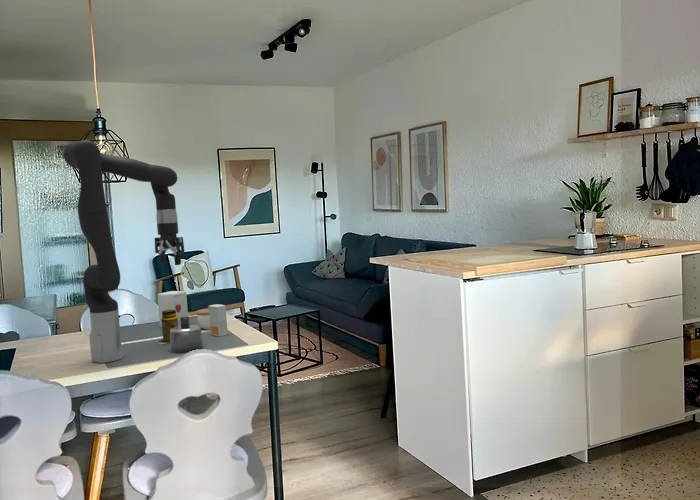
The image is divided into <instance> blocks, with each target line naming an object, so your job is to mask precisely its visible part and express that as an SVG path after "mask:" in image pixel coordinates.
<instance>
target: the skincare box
mask: <svg viewBox="0 0 700 500" xmlns="http://www.w3.org/2000/svg"><path fill="white" fill-rule="evenodd" d="M208 306H209V315H210V329H211V330H210V335H211V336H216V337H220V338H221V337H223V336H227V335H228V319H227V318H228V317H227V307H226V304H219V303H216V304H215V303H214V304H210V305H208Z"/></svg>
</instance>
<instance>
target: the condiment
mask: <svg viewBox="0 0 700 500" xmlns="http://www.w3.org/2000/svg"><path fill="white" fill-rule="evenodd" d="M161 321H162V328H161V331H162V339H159V340H155V342H156V343H157V344H158V345H164V344H171V341H170V329H171V328H174V327H177V326H178V319H177V316H176V310H165V311H162V319H161Z"/></svg>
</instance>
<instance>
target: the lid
mask: <svg viewBox="0 0 700 500" xmlns="http://www.w3.org/2000/svg"><path fill="white" fill-rule="evenodd" d="M180 322H181V326H177V327H174V328H171V329H170V332H171V333H190V332H195V331H198V330H200V328H201V326H200V325H199V324H190V318H189V315H188V316H184V317H180Z"/></svg>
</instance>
